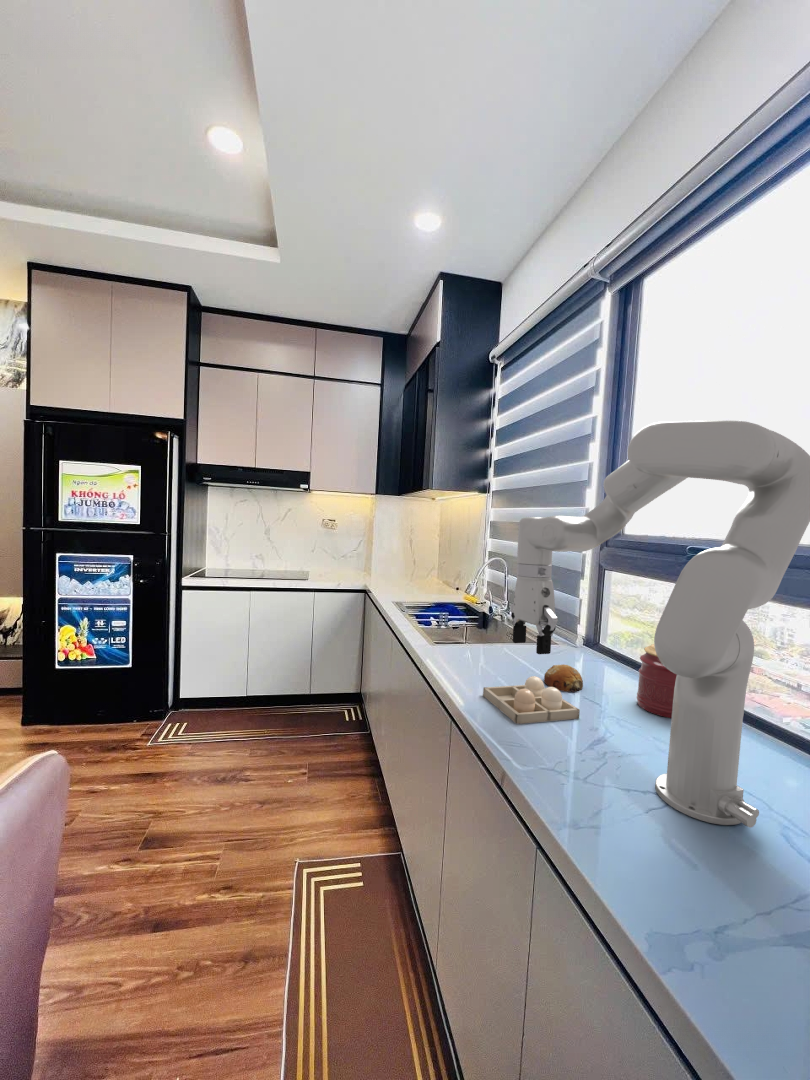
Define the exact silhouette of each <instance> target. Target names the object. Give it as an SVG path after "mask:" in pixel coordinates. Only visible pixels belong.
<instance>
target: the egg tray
mask: <svg viewBox="0 0 810 1080" xmlns="http://www.w3.org/2000/svg"><path fill="white" fill-rule="evenodd" d="M545 688H546V687H545V686H544V689H545ZM520 689H525V684H519V685H518V684H517V685H504V686H503V685H501V686H488V687H487V686H486V687H483V690H482V692H483V693H482V695H483V697H484V698H485V699H487V701H488V702H490V703H491V704H493V706H495V707H496V708H497V709H498V710H500V711H501V713H503V714H504V715H505V716H507V717H508V718H509V719H510V720H511V721H513V722H514V723H515V724H516V725H521V724H522V725H523V724H533V723H544V722H554V721H555V722H556V721H566V720H578V719H580V711H581V709H579V708H578V707H576V706H575V705H573V704H571V703H570V702H569V701H567V700H565V699H563V698H562V709H561V710H547V709H546V708H544V707H543V706H542V705H541V697H535V712H524V713H518V712H517V711H516V710H514V697H515V694H516V692H517V691H518V690H520Z"/></svg>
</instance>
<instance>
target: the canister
mask: <svg viewBox="0 0 810 1080" xmlns="http://www.w3.org/2000/svg"><path fill="white" fill-rule="evenodd" d="M644 652H645V653H644V654H641V655H640V656H639V659H640V662H641V666H640V668H639V669H638V687H637V692H636V703H637V705H638V706H639V707H640V708H641V709H642V710H645V712H646V711H647V712H649V713H651V714H654V715H657V716H659V717H665V718H668V719H672V708H673V698H674V688H675V681H676V676H677V674H675V673H673V672H671V671H670V670H668V669H667V668H666V667H665V666H664V665H663V664H662V663H661V661H660V660H659V658H658V656H657V654H656V651H655V646H654V643H652V644H651V645H648V646H646V647H644Z"/></svg>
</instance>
